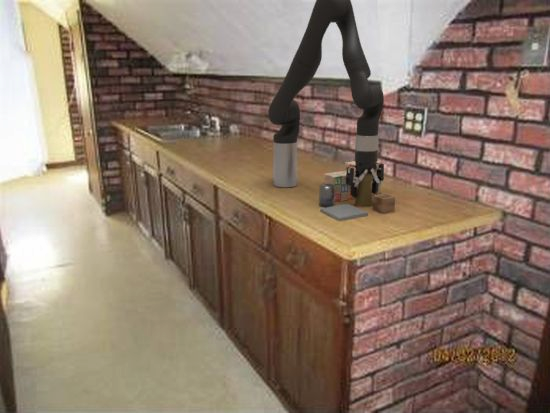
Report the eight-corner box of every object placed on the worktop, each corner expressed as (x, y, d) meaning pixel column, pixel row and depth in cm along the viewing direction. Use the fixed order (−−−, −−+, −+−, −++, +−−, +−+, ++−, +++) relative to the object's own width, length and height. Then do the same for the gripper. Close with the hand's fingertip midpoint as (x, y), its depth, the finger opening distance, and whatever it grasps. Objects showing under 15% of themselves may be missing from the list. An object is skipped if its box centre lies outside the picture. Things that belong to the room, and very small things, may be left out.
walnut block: (372, 210, 157) (373, 195, 155) (384, 207, 159) (385, 193, 157) (382, 214, 152) (383, 199, 151) (394, 211, 154) (395, 197, 153)
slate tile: (320, 211, 155) (320, 208, 155) (347, 206, 160) (347, 203, 160) (339, 221, 146) (339, 218, 146) (368, 215, 151) (368, 212, 151)
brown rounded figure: (376, 205, 161) (377, 174, 158) (360, 207, 159) (361, 175, 156) (367, 200, 166) (368, 170, 163) (351, 202, 164) (353, 171, 161)
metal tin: (316, 204, 163) (316, 185, 161) (328, 202, 165) (329, 183, 163) (324, 208, 158) (324, 188, 156) (336, 206, 161) (337, 186, 159)
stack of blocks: (333, 203, 165) (334, 168, 161) (323, 198, 170) (323, 165, 166) (380, 194, 175) (382, 161, 171) (369, 190, 180) (371, 158, 176)
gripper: (376, 144, 163) (373, 189, 168) (342, 148, 157) (340, 195, 162) (390, 148, 157) (387, 194, 162) (355, 152, 150) (354, 201, 155)
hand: (364, 195), depth 162 cm, fingers open, 8 cm apart
